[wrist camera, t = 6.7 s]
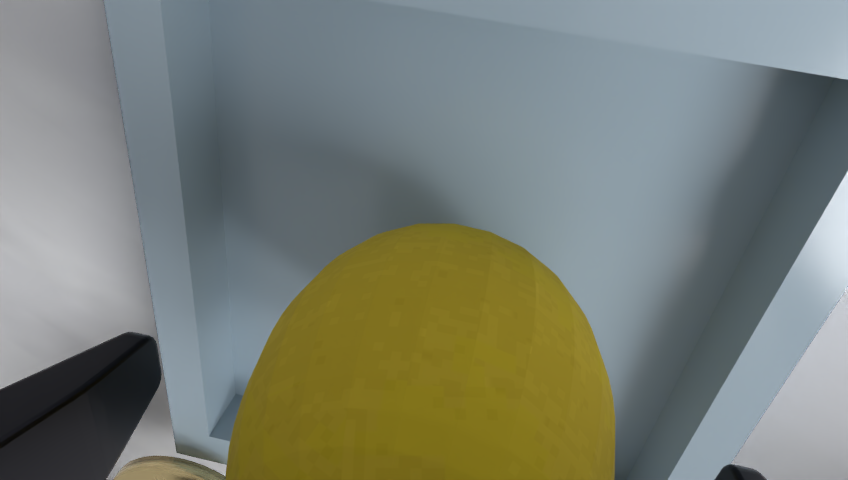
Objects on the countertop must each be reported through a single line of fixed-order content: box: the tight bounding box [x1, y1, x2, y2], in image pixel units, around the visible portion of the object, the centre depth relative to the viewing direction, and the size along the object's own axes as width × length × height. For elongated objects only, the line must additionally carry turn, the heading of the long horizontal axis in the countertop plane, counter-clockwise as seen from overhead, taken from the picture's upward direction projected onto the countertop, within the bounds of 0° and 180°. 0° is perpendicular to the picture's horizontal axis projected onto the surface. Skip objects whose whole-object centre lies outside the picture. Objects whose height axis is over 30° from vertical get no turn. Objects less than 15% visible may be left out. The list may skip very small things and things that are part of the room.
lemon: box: [226, 223, 615, 480], centre depth 8 cm, size 6×6×8 cm
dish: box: [104, 0, 848, 480], centre depth 12 cm, size 13×13×2 cm
